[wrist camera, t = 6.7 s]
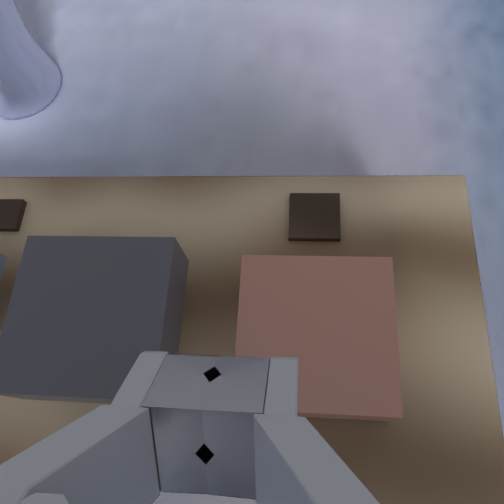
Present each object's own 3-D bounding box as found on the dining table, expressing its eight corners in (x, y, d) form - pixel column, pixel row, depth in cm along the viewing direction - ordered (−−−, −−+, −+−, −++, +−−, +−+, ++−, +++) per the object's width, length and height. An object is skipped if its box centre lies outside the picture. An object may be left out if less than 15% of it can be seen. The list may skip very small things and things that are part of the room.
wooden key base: (434, 491, 22) (519, 518, 13) (-64, 456, 25) (-253, 461, 16) (413, 259, 27) (466, 171, 18) (-3, 253, 29) (-126, 174, 21)
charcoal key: (171, 407, 14) (152, 401, 13) (23, 398, 15) (-16, 392, 13) (188, 260, 16) (174, 236, 15) (57, 258, 17) (27, 235, 15)
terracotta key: (390, 421, 15) (403, 417, 13) (239, 413, 15) (231, 408, 14) (382, 277, 17) (392, 257, 15) (248, 275, 17) (242, 254, 16)
